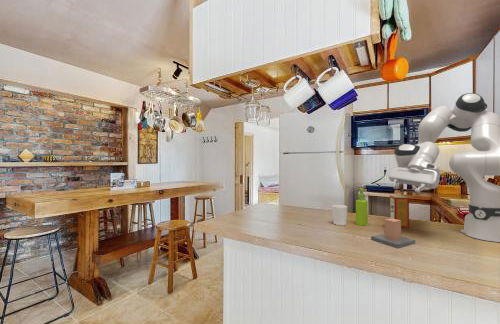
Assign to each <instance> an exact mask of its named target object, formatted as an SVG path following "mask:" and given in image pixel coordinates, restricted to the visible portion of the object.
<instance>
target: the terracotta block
mask: <svg viewBox="0 0 500 324" xmlns="http://www.w3.org/2000/svg"><path fill="white" fill-rule="evenodd" d="M383 221H384V224H383V226H384V229H383V230H384V233H383V234H385V238H388V239H391V240H394V241H395V240H399V239H401V236H402V227H401V220H397V219H392V218H390V217H389V218H385V219H384V220H383Z"/></svg>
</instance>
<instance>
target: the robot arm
mask: <svg viewBox="0 0 500 324" xmlns="http://www.w3.org/2000/svg"><path fill="white" fill-rule="evenodd" d="M487 108H488V104H487V103H486V101H485V99H484V97H483V96H482V95H480V94H478V93H474V92H467V93H463V94H461V95H460V96H459V97H458V98H457V100H456V101H455V104H454V106H453V107H451V108H450V107H449V106H447V105H439V106H437V107H435V108H434V109H433V110H431V111H430V112H429V113H427V114H426V116H424V118H423V119H422V120H421V121H420V122H419V125H418V126H417V135H418V136H417V137H418V138H417V139H418V140H417V141H418V142H417V144H416V143H415V144H412V143H401V144H399V145H398V146H397V147H395V149H394V151H393V153H394V156H395V157H394V158H395V161H396V164H397V166H396V167H394V168H393V169H391V171H390V173H389V174H388V176H387V177H388V179H389V182H393V186H392V187H393V189H395V190H398V189H399V185H398V184H402V185H403V184H405V185H410V186H414V187H416V188H415V189H414V193H416V194H420V193H421V192H422V191H423V190H425V189H427V188H428V189H433V190H434V189H437V188H438V186H439V183H440V177H441V172H440V168H439V166H437V165H435V163H436V161H437V159H438V157H439V154H440V147H439V146H438V145H437V144H436V142H437V140H438V139H439V138H440V136H441V134H442V133H443V131H444V130H445V129H446V128H448V129H451V130H453V131H456V132H458V133H460V132H461V133H462V132H468V131H471V132H470V145H471V146H472V147H473V149H475V151H474V150H473V151H471V150H470V151H463V152H456V153H454V154H453V155H452V156H450V158H449V162H448V165H449V168H450V170H451V172H453V173H455V174H456V175H458V176H459V177H460V178H462V179H463V181H464V182H465V184H466V185H467V188H468V192H469V193H468V194H469V204H468V207H467V209H468V214H466V215H465V216H464V226H463V227H464V228H461V229H460V232H461V233H463V234H465V235H466V236H468V237H470V238H473V239H477V240H481V241H486V242H487V241H488V242H496V243H497V242H498V243H500V185H497V184H495V183H493V182H489V181H487V180H486V179H485V178H484V177H485V176H499V177H500V116H499V114H497V113H496V112H492V111H487V110H486V109H487Z"/></svg>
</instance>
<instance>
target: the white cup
mask: <svg viewBox="0 0 500 324" xmlns="http://www.w3.org/2000/svg"><path fill="white" fill-rule="evenodd" d="M331 209H332V210H331V211H332V219H333V220H332V222H333V225H335V224H336V226H347V217H348V216H347V215H348V206H347V205H345V204H344V205H343V204H332V206H331Z"/></svg>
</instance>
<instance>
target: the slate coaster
mask: <svg viewBox="0 0 500 324" xmlns="http://www.w3.org/2000/svg"><path fill="white" fill-rule="evenodd" d="M370 239H371V241H374V242H377V243H380V244H383V245H385V246H390V247H393V248H396V249H400V248H403V247H408V246H411V245H415V244H416V239H413V238H411V237H406V236H402V235H401V239H399V240H395V241H394V240H391V239H388V238H385V234H384V233H381V234H375V235H371V238H370Z"/></svg>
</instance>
